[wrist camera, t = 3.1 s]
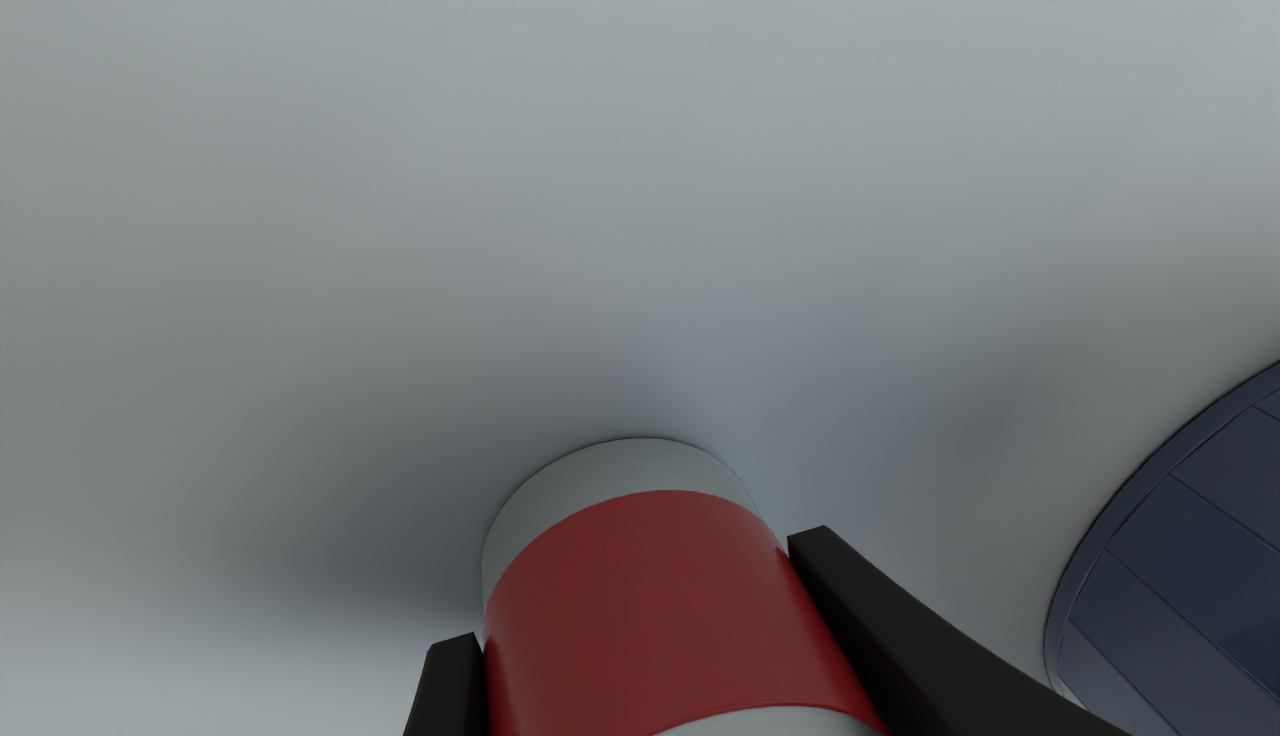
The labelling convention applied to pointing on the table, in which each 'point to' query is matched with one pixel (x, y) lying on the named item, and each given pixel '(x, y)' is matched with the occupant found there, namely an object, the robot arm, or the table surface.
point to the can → (654, 608)
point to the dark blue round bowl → (1183, 584)
